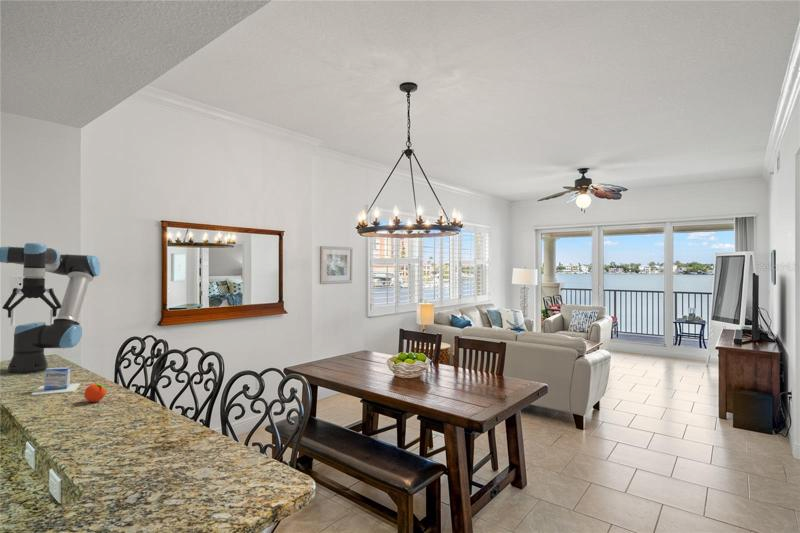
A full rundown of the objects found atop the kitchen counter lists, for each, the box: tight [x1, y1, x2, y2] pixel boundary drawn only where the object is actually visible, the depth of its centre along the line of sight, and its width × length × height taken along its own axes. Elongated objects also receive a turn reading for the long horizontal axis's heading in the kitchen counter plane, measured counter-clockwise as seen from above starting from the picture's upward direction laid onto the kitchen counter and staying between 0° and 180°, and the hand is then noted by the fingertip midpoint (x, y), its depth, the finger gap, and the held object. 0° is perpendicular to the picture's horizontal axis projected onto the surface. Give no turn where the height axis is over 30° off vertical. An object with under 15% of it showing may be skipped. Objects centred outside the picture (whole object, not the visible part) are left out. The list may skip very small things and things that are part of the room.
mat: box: [30, 382, 81, 397], centre depth 181 cm, size 14×14×1 cm
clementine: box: [83, 383, 107, 403], centre depth 167 cm, size 8×7×7 cm
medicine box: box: [43, 366, 72, 390], centre depth 181 cm, size 8×4×9 cm, turn 115°
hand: (32, 324), depth 192 cm, fingers open, 13 cm apart
